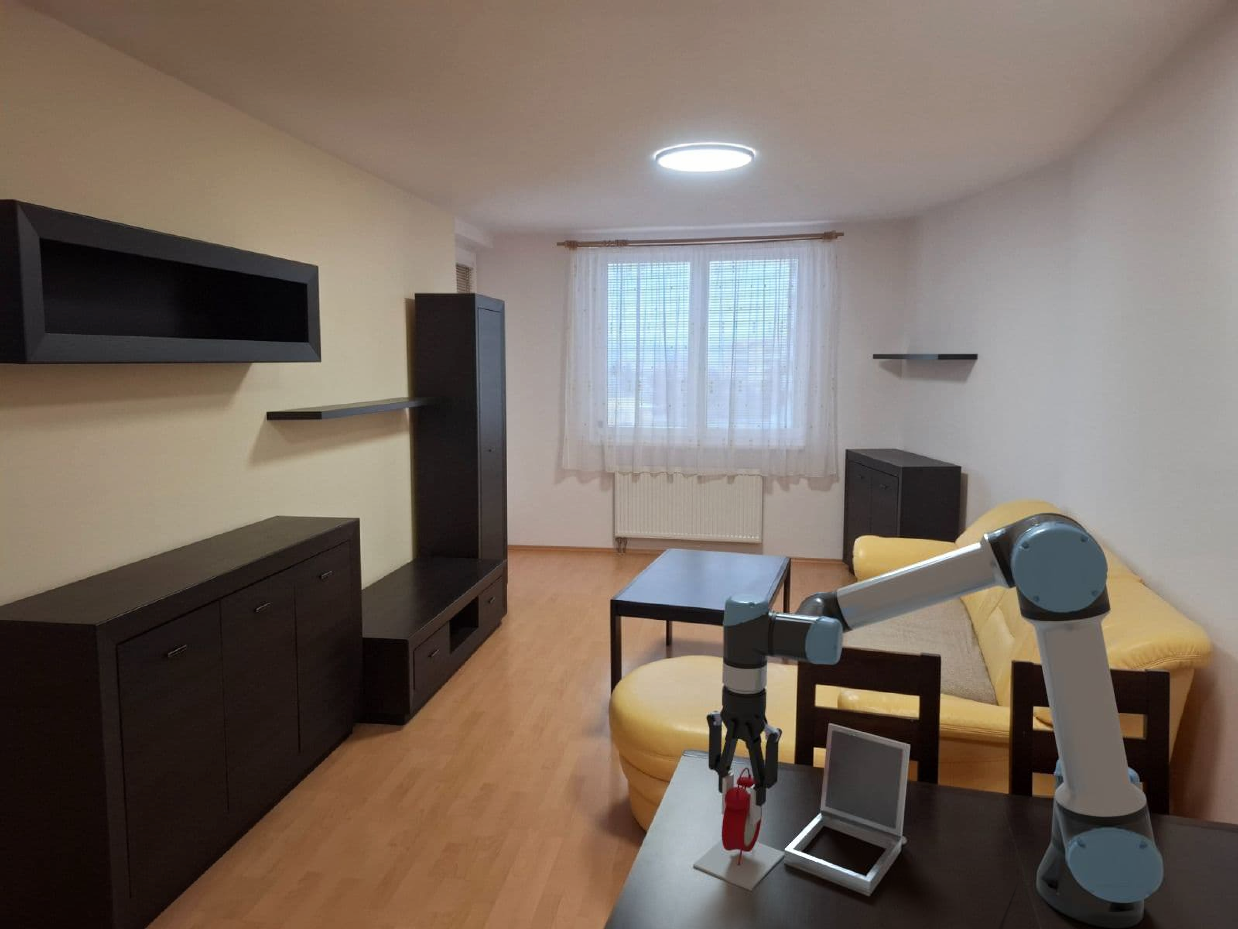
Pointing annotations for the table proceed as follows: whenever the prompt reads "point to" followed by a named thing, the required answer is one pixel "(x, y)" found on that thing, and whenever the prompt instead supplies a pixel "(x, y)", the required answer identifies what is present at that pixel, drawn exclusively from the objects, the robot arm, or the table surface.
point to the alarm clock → (739, 818)
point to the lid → (865, 778)
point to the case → (836, 873)
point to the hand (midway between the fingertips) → (741, 816)
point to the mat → (750, 866)
